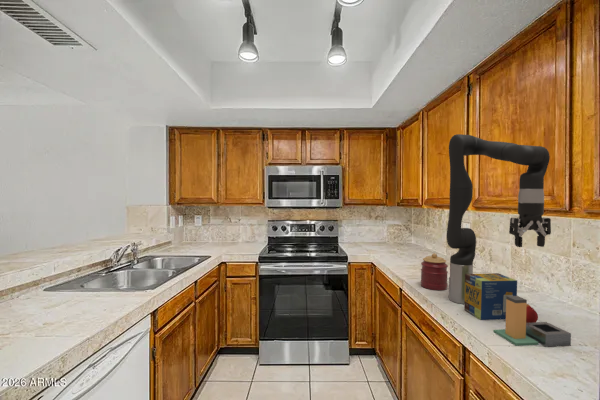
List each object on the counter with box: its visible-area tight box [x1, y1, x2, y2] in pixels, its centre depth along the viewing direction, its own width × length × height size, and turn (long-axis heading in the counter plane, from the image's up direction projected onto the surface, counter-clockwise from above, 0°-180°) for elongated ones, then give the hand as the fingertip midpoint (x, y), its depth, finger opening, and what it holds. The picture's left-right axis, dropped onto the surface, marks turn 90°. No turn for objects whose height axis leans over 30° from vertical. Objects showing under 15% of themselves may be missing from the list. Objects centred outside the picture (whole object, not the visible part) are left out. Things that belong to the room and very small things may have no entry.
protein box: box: [463, 272, 518, 321], centre depth 126 cm, size 10×15×16 cm
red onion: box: [526, 303, 539, 323], centre depth 116 cm, size 6×6×8 cm
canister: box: [420, 252, 449, 291], centre depth 163 cm, size 13×13×18 cm
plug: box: [505, 295, 528, 339], centre depth 106 cm, size 4×4×13 cm
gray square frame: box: [526, 321, 572, 348], centre depth 105 cm, size 9×9×4 cm
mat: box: [493, 328, 539, 347], centre depth 106 cm, size 10×8×1 cm
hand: (529, 246), depth 112 cm, fingers open, 8 cm apart
